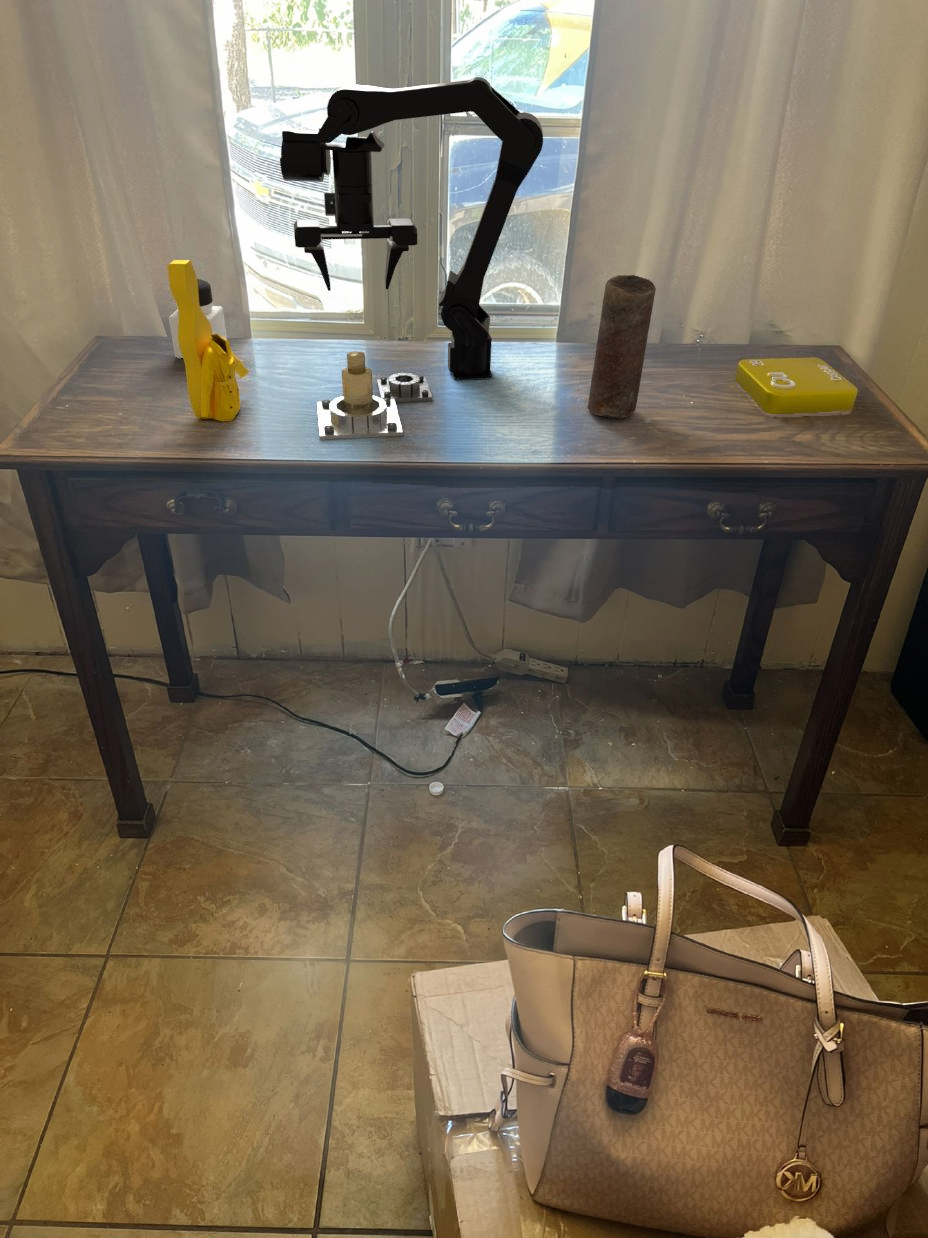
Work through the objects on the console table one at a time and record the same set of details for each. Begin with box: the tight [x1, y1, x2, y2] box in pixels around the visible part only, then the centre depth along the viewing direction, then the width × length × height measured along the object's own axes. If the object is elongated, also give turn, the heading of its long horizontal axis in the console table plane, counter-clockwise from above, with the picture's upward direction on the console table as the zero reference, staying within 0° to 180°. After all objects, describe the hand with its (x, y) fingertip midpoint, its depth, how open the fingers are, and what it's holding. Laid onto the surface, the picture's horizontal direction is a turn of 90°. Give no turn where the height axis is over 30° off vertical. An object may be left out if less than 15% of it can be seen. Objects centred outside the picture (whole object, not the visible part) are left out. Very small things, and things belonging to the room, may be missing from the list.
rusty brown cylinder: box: [587, 274, 656, 420], centre depth 131 cm, size 8×7×20 cm
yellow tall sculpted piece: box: [167, 259, 249, 422], centre depth 128 cm, size 18×8×22 cm, turn 172°
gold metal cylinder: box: [341, 350, 374, 414], centre depth 130 cm, size 4×4×10 cm
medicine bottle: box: [168, 278, 228, 359], centre depth 151 cm, size 7×7×12 cm
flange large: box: [316, 395, 404, 441], centre depth 133 cm, size 12×12×2 cm
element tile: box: [734, 356, 859, 414], centre depth 143 cm, size 15×15×5 cm
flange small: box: [376, 372, 433, 403], centre depth 142 cm, size 8×8×2 cm
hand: (358, 289), depth 142 cm, fingers open, 9 cm apart
